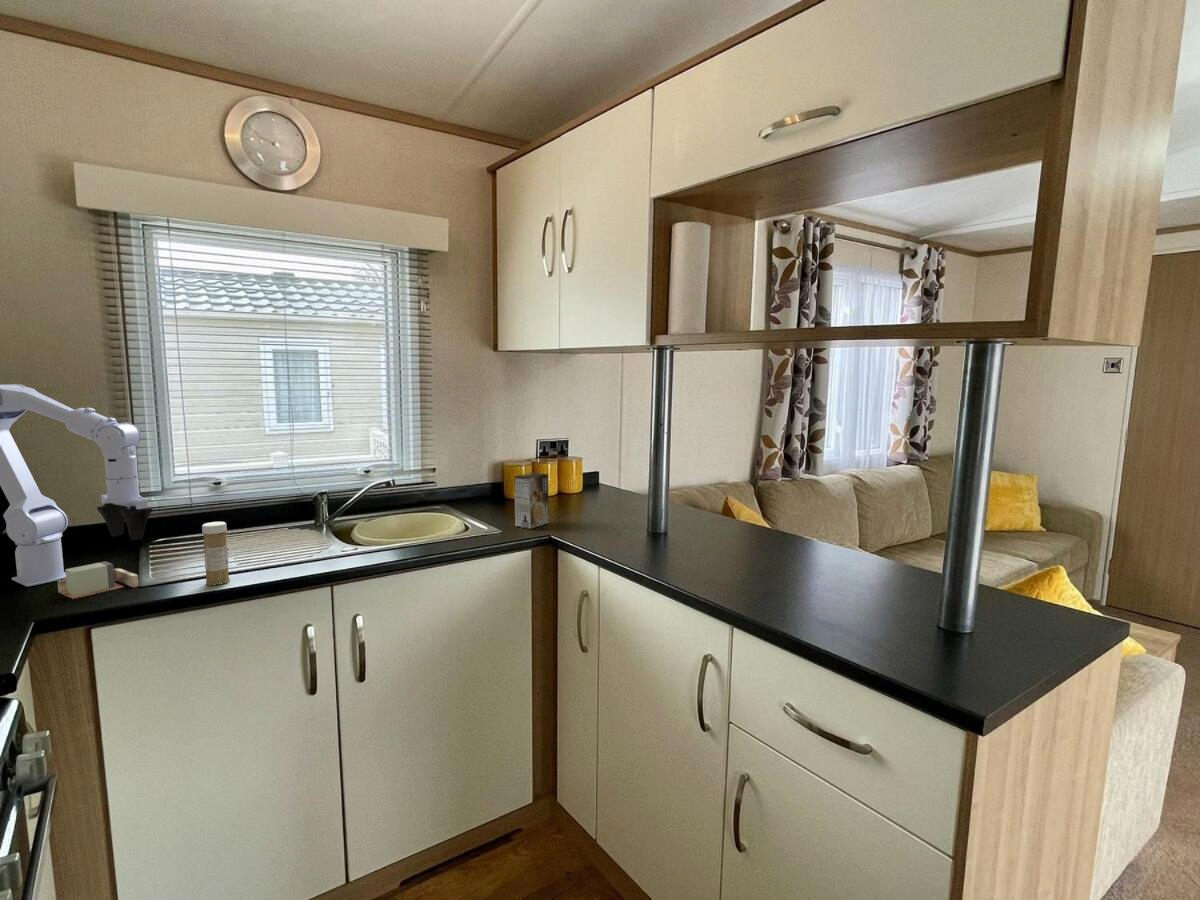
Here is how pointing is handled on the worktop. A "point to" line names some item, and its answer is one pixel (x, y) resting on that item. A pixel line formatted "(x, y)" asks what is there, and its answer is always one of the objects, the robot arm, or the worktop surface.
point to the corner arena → (119, 576)
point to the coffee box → (531, 500)
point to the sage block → (90, 578)
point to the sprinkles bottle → (215, 552)
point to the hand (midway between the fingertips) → (127, 537)
